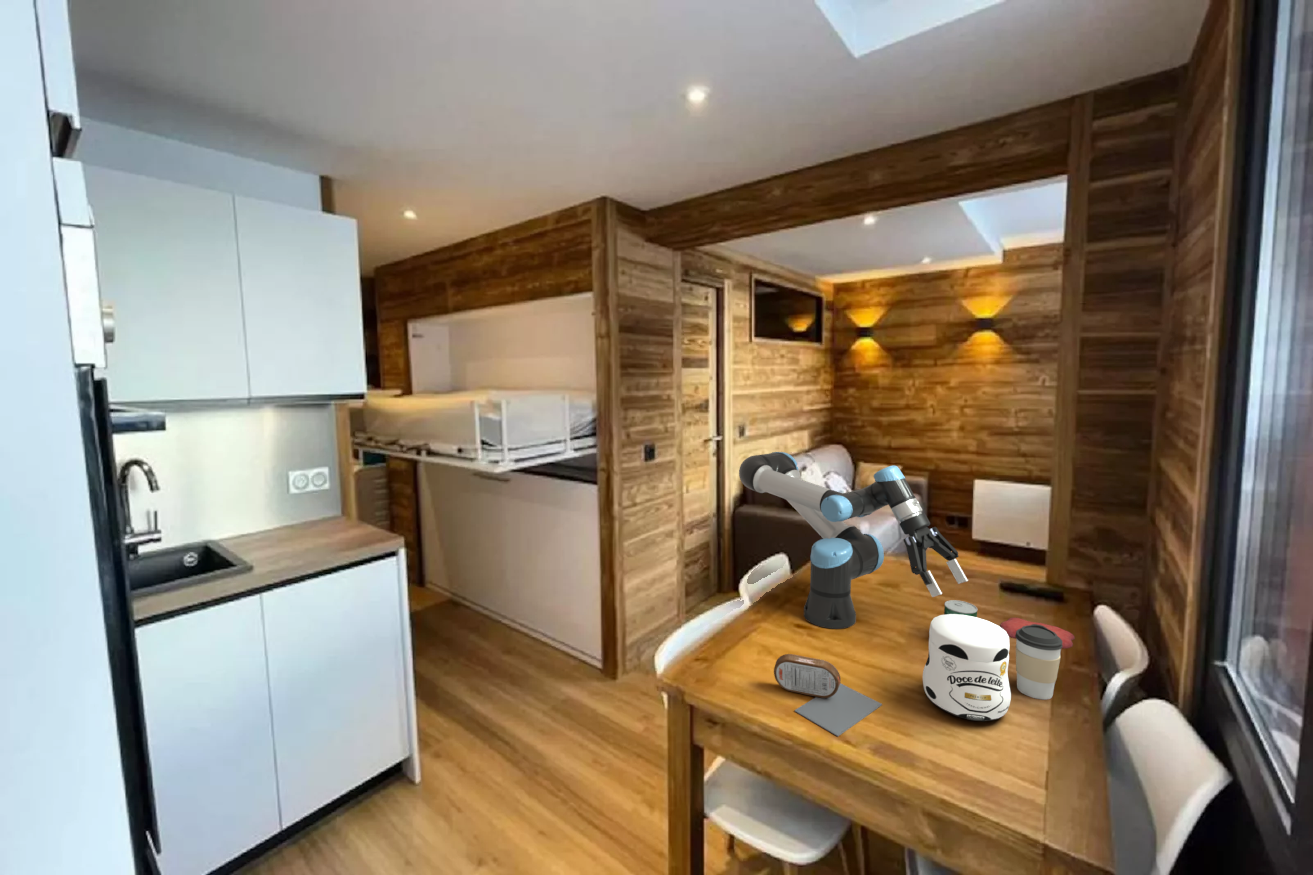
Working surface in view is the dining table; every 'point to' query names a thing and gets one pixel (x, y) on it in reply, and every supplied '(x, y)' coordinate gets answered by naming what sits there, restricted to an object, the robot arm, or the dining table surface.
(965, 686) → the doce de leite jar
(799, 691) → the tin
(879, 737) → the dining table surface
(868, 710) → the slate board
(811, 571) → the robot arm
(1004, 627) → the red flat irregular piece
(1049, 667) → the coffee cup
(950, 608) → the canned tomato
